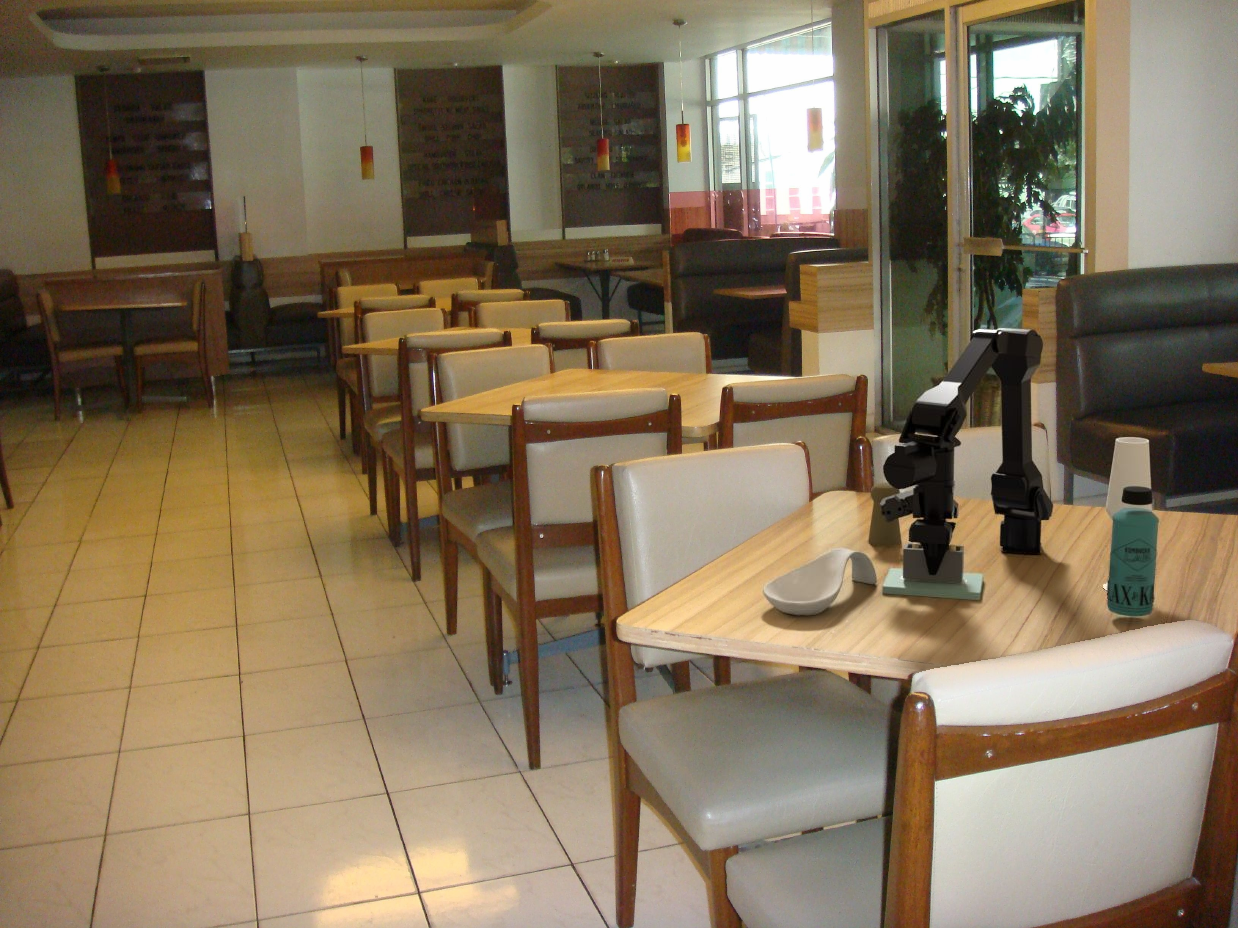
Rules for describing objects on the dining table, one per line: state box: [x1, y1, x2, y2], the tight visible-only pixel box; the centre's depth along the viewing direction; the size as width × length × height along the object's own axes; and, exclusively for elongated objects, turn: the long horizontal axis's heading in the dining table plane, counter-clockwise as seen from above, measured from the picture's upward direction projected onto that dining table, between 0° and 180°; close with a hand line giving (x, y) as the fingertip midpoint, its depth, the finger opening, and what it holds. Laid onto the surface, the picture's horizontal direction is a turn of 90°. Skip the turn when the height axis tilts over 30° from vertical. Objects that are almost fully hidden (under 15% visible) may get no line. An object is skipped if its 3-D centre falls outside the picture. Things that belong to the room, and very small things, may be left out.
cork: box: [867, 482, 903, 547], centre depth 222 cm, size 6×6×11 cm
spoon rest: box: [762, 547, 878, 616], centre depth 192 cm, size 24×12×7 cm, turn 136°
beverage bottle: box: [1105, 486, 1160, 617], centre depth 176 cm, size 6×7×20 cm
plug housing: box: [902, 542, 965, 582], centre depth 195 cm, size 9×4×5 cm, turn 70°
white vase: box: [1102, 436, 1153, 591], centre depth 189 cm, size 7×7×24 cm
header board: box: [881, 542, 984, 601], centre depth 195 cm, size 15×10×7 cm, turn 70°
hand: (933, 571), depth 196 cm, fingers closed on plug housing, 4 cm apart
